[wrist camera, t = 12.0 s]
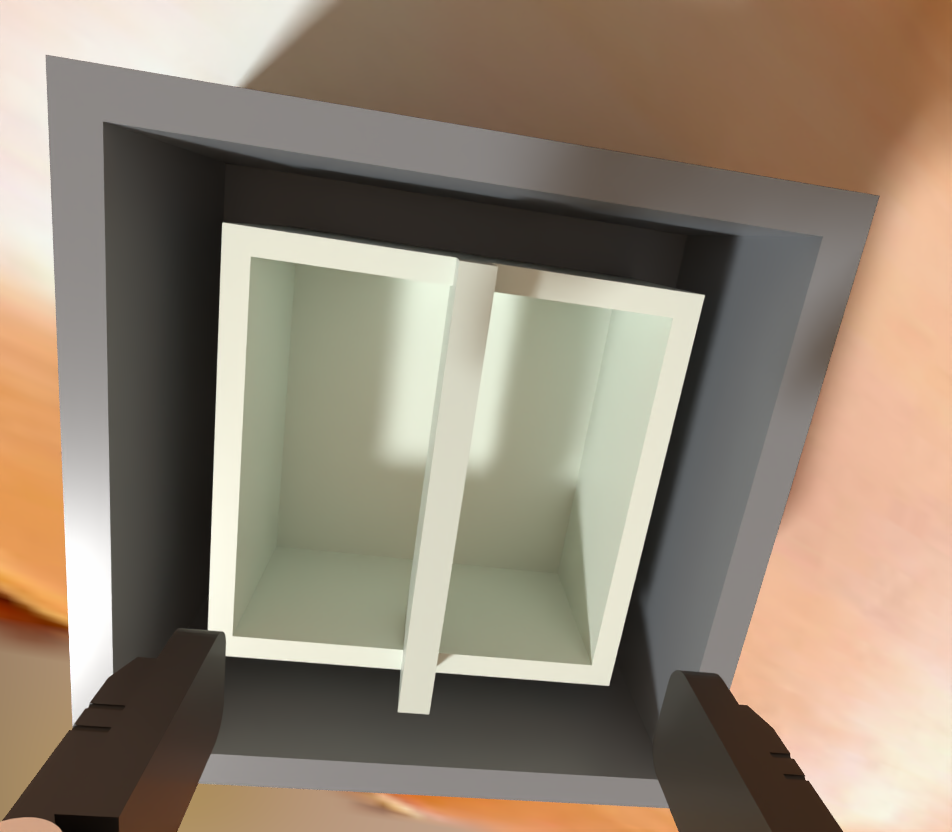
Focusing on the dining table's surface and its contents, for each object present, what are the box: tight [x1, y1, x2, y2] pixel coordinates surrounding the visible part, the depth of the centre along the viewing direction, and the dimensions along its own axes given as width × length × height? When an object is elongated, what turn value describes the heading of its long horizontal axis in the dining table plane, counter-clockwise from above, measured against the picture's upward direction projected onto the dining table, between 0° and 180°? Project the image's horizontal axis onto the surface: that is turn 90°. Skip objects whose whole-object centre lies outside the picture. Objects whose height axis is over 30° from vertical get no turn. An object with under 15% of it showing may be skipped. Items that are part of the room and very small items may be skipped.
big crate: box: [46, 55, 879, 808], centre depth 23 cm, size 20×20×10 cm
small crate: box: [208, 222, 705, 714], centre depth 22 cm, size 14×14×9 cm
